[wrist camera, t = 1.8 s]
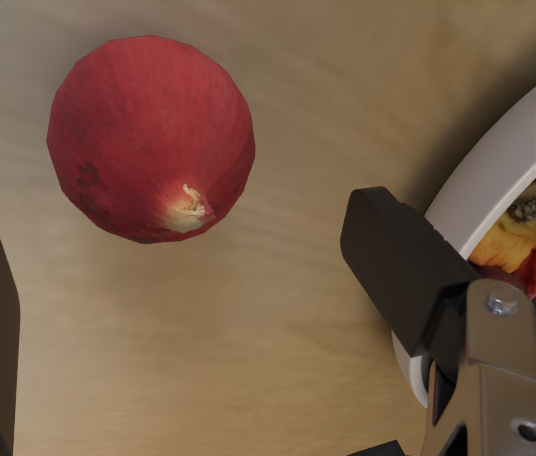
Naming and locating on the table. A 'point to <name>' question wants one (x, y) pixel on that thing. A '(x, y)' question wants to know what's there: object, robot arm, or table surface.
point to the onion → (151, 139)
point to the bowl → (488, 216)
